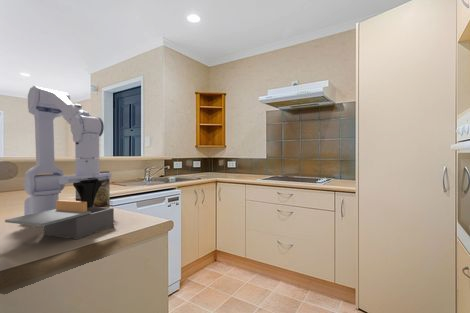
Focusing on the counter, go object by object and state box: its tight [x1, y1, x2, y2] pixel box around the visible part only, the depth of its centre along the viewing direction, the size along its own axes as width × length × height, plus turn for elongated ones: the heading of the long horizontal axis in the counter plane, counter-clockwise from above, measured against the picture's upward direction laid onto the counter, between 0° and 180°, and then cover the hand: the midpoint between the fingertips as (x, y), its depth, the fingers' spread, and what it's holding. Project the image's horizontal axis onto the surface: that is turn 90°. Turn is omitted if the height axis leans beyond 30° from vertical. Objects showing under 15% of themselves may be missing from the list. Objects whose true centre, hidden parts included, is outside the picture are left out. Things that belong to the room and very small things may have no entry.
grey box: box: [43, 207, 115, 240], centre depth 67 cm, size 12×12×6 cm
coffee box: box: [75, 170, 111, 208], centre depth 82 cm, size 9×6×16 cm
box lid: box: [4, 199, 91, 227], centre depth 59 cm, size 12×12×3 cm
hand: (88, 207), depth 65 cm, fingers closed
